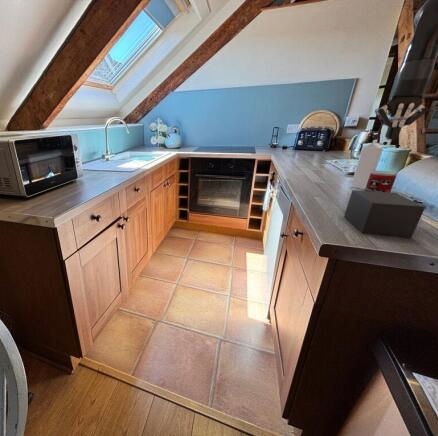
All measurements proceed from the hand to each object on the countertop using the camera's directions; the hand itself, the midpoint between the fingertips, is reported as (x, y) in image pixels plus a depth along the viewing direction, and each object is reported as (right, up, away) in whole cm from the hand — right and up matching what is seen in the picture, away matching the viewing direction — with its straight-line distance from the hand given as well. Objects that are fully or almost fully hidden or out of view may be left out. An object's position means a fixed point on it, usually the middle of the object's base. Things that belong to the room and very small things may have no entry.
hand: (390, 139), depth 79 cm
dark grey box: (-8, -29, -3) cm, 30 cm away
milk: (+24, -11, +38) cm, 46 cm away
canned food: (+16, -18, +22) cm, 33 cm away
